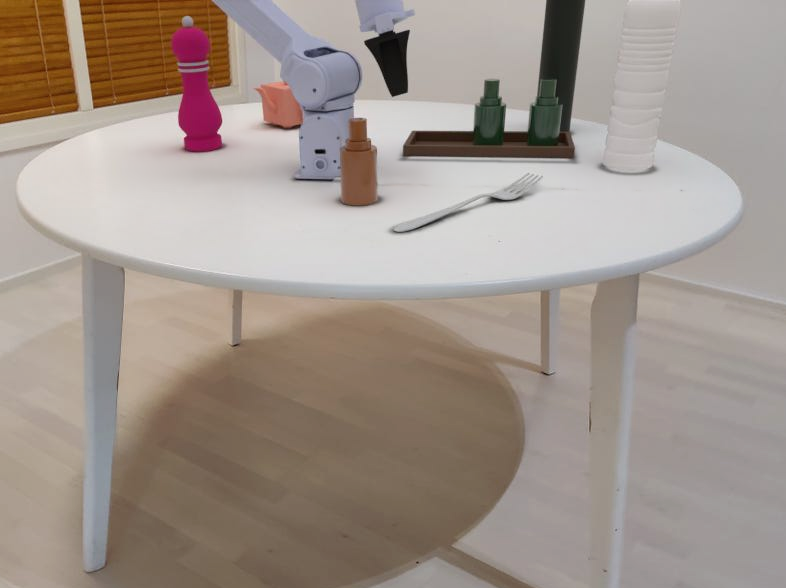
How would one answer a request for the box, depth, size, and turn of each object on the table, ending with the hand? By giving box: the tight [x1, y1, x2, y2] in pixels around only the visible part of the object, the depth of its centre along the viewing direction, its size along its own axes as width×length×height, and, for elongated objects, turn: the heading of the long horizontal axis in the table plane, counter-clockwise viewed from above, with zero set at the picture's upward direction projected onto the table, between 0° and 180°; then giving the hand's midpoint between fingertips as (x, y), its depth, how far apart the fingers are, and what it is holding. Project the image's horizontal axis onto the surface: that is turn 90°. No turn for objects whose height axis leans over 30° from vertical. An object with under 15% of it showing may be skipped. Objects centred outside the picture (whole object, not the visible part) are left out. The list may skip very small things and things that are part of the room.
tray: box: [402, 130, 576, 160], centre depth 108 cm, size 11×25×2 cm, turn 77°
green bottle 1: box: [472, 78, 507, 146], centre depth 106 cm, size 5×5×10 cm
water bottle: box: [601, 0, 682, 171], centre depth 92 cm, size 9×6×25 cm
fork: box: [393, 172, 544, 233], centre depth 85 cm, size 3×24×2 cm, turn 128°
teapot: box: [252, 79, 303, 129], centre depth 131 cm, size 12×15×8 cm
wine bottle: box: [536, 0, 586, 132], centre depth 111 cm, size 6×6×30 cm
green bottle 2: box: [526, 78, 563, 146], centre depth 104 cm, size 5×5×10 cm
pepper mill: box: [170, 15, 223, 152], centre depth 114 cm, size 7×7×20 cm
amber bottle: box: [339, 117, 378, 207], centre depth 87 cm, size 5×5×10 cm
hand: (399, 93), depth 92 cm, fingers open, 7 cm apart
